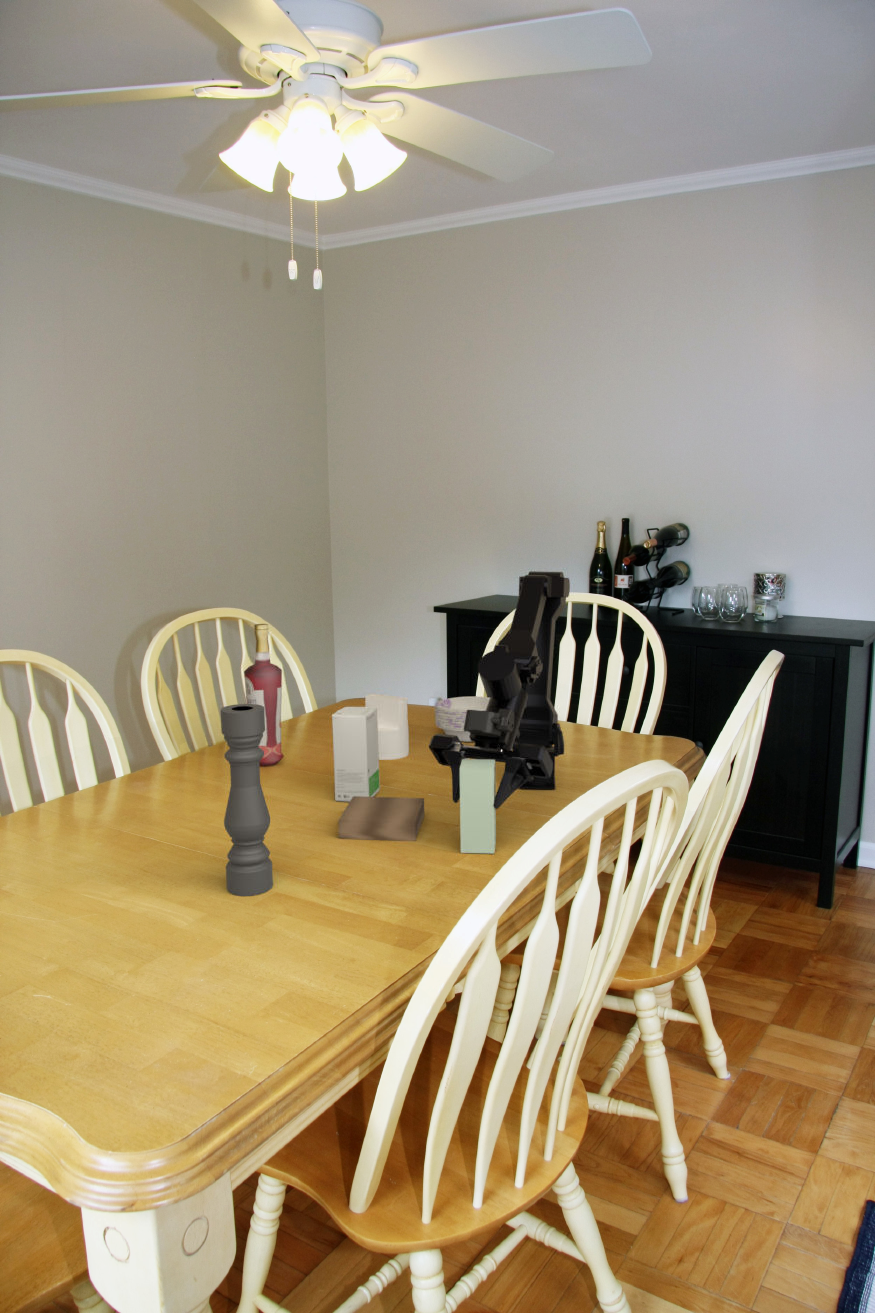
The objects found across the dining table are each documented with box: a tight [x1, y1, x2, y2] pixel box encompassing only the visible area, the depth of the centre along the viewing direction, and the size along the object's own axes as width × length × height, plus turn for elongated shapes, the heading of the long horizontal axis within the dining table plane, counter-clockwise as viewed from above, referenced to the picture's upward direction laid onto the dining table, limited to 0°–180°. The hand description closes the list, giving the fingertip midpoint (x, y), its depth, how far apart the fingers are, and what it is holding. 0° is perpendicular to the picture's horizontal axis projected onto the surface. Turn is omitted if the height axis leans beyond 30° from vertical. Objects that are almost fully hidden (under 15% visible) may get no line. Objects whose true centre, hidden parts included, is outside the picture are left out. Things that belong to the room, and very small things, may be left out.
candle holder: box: [220, 703, 274, 897], centre depth 128 cm, size 6×6×25 cm
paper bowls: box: [434, 696, 490, 743], centre depth 209 cm, size 15×15×8 cm
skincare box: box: [331, 706, 381, 803], centre depth 168 cm, size 8×7×16 cm
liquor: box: [243, 623, 284, 767], centre depth 188 cm, size 7×7×28 cm
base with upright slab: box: [364, 693, 410, 761], centre depth 196 cm, size 9×9×12 cm
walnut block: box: [337, 796, 425, 842], centre depth 153 cm, size 12×12×3 cm
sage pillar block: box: [459, 758, 497, 854], centre depth 143 cm, size 5×5×13 cm
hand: (474, 804), depth 142 cm, fingers closed on sage pillar block, 6 cm apart
